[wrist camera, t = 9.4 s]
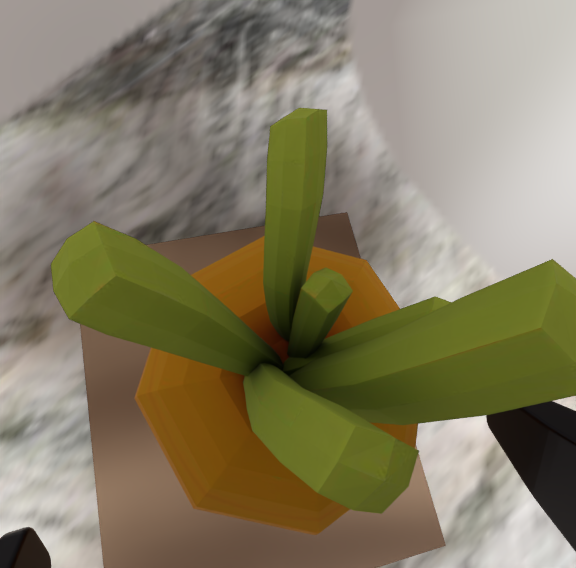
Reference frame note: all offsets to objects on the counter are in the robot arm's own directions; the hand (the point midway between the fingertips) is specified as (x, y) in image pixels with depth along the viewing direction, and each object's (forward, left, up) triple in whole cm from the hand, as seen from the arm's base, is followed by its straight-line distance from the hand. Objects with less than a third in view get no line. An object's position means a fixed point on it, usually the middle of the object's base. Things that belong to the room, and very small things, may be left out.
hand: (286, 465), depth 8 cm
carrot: (+2, 0, -9) cm, 9 cm away
